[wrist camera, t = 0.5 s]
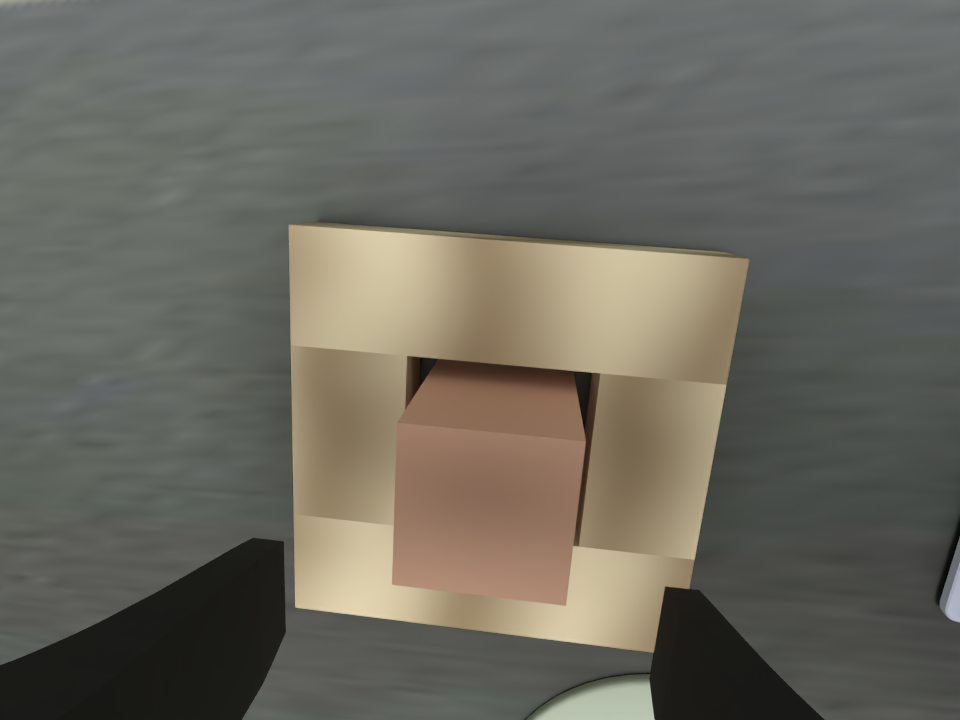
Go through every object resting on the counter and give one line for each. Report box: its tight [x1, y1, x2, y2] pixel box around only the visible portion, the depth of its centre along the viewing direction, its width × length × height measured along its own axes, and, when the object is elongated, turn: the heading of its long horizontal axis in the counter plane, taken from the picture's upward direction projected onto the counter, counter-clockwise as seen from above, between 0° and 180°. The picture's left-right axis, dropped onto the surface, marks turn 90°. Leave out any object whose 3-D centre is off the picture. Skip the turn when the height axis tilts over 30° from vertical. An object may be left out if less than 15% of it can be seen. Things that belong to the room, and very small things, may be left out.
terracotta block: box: [392, 359, 586, 606], centre depth 17 cm, size 4×4×6 cm
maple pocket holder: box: [289, 222, 749, 653], centre depth 19 cm, size 13×13×2 cm
